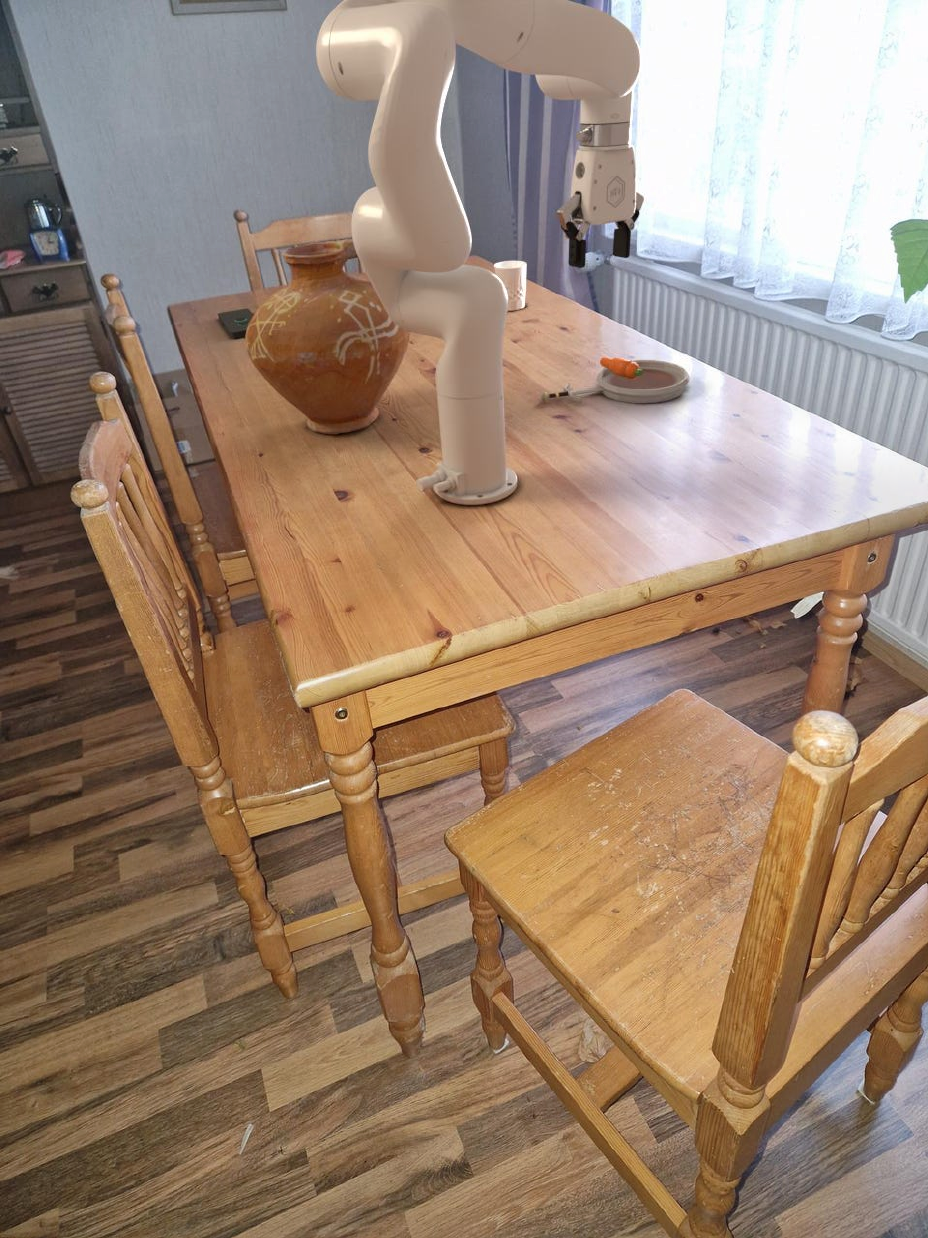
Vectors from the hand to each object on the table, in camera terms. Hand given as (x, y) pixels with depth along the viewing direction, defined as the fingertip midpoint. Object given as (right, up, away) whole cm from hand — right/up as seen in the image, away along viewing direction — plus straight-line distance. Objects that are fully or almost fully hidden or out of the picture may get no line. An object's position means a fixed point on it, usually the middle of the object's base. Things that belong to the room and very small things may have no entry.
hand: (599, 261), depth 129 cm
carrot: (+6, -11, +20) cm, 24 cm away
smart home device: (-78, +16, +74) cm, 109 cm away
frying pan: (+6, -15, +22) cm, 27 cm away
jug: (-44, -21, +19) cm, 52 cm away
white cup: (-10, +20, +72) cm, 75 cm away
